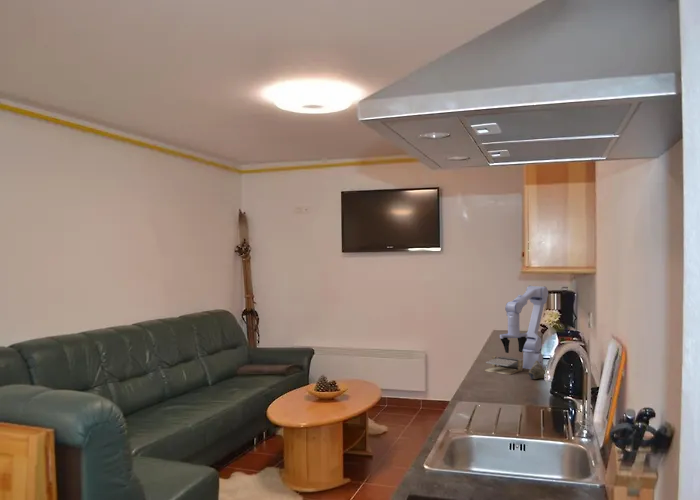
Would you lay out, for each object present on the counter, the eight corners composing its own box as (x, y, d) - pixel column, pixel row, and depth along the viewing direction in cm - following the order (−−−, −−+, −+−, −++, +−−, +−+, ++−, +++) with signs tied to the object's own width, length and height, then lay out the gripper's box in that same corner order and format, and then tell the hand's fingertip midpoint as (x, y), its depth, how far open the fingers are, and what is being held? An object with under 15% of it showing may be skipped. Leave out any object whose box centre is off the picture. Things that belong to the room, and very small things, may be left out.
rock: (539, 358, 268) (552, 375, 263) (531, 366, 271) (544, 382, 266) (527, 362, 260) (541, 379, 255) (519, 369, 263) (532, 387, 258)
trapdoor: (523, 367, 284) (523, 358, 284) (508, 373, 271) (508, 364, 271) (500, 364, 293) (500, 355, 293) (485, 369, 279) (485, 361, 279)
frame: (522, 370, 280) (522, 359, 280) (511, 375, 270) (511, 363, 270) (493, 366, 290) (493, 356, 290) (482, 370, 281) (482, 359, 281)
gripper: (522, 323, 281) (522, 350, 281) (496, 324, 278) (496, 351, 278) (529, 325, 274) (529, 352, 274) (503, 326, 271) (503, 354, 271)
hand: (513, 352), depth 276 cm, fingers open, 7 cm apart
